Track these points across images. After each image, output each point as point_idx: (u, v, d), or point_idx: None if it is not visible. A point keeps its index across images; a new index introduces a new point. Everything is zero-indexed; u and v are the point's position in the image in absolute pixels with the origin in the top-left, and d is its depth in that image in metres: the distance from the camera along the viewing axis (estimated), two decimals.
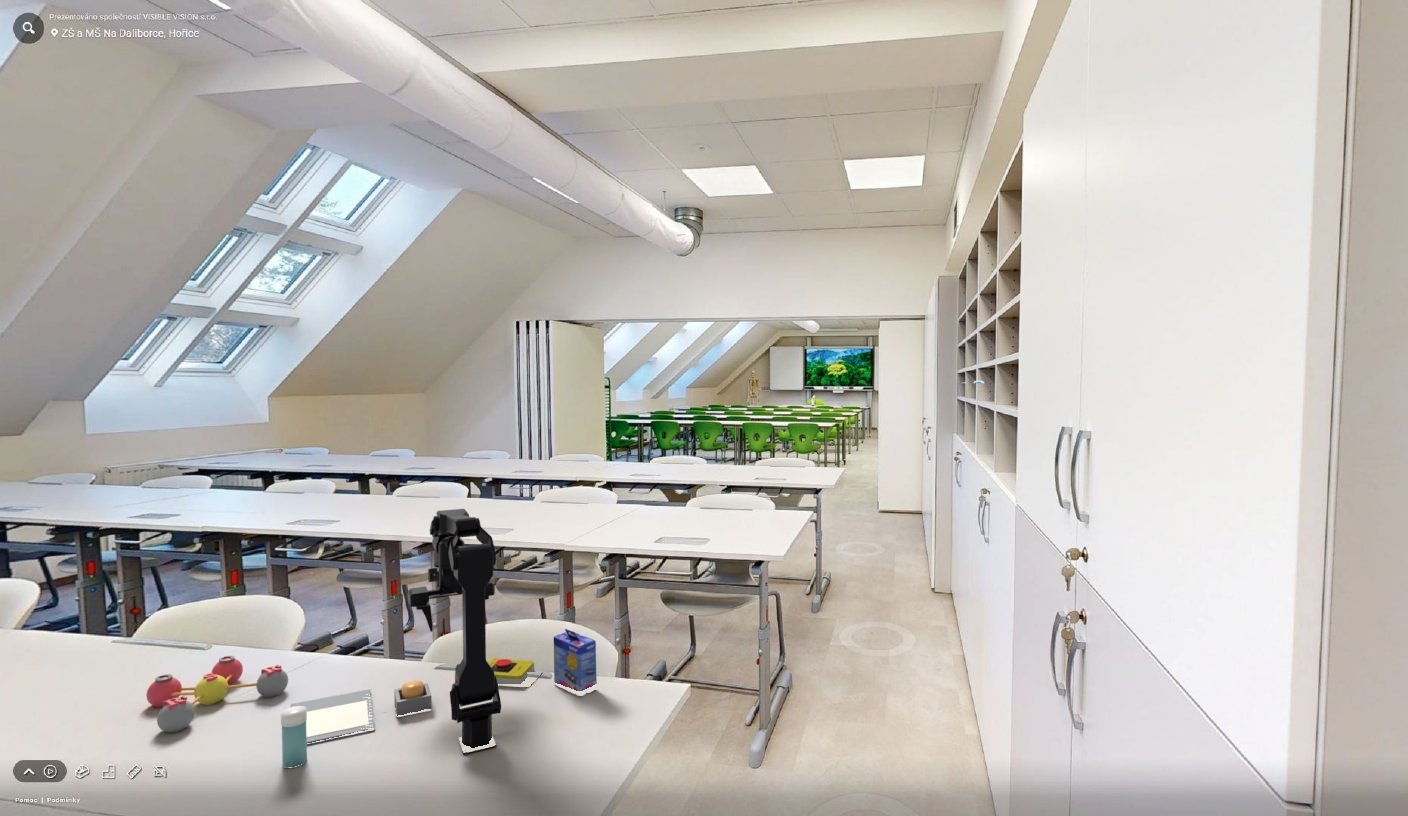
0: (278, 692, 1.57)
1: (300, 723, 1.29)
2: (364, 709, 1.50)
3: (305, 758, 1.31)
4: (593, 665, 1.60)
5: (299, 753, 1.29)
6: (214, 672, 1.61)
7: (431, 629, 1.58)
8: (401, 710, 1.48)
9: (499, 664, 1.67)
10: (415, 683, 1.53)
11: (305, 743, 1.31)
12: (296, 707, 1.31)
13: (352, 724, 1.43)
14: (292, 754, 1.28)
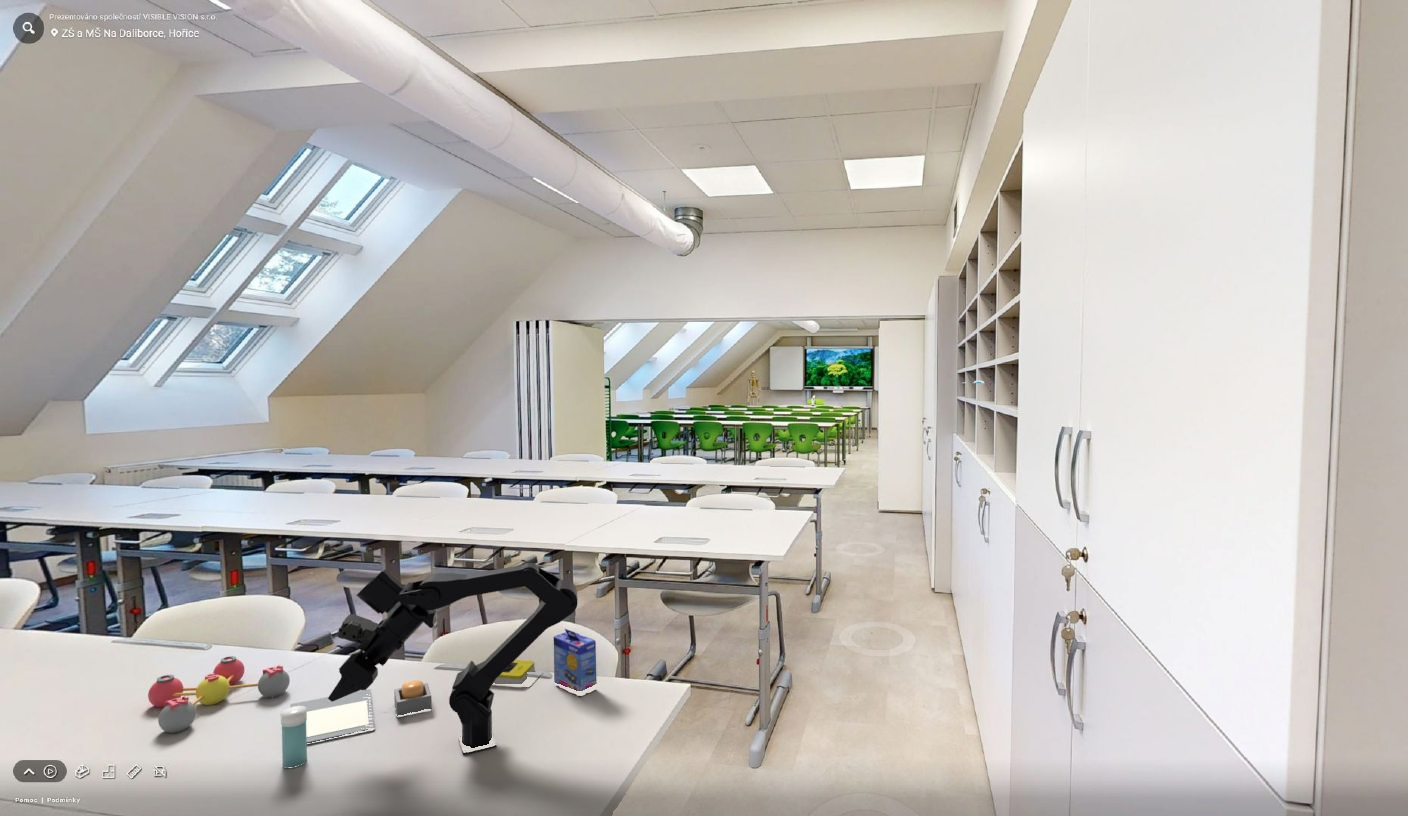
0: (280, 692, 1.57)
1: (300, 723, 1.29)
2: (364, 709, 1.50)
3: (305, 758, 1.31)
4: (593, 665, 1.60)
5: (299, 753, 1.29)
6: (215, 672, 1.61)
7: (335, 699, 1.28)
8: (401, 710, 1.48)
9: None
10: (415, 683, 1.53)
11: (305, 743, 1.31)
12: (296, 707, 1.31)
13: (352, 724, 1.43)
14: (292, 754, 1.28)
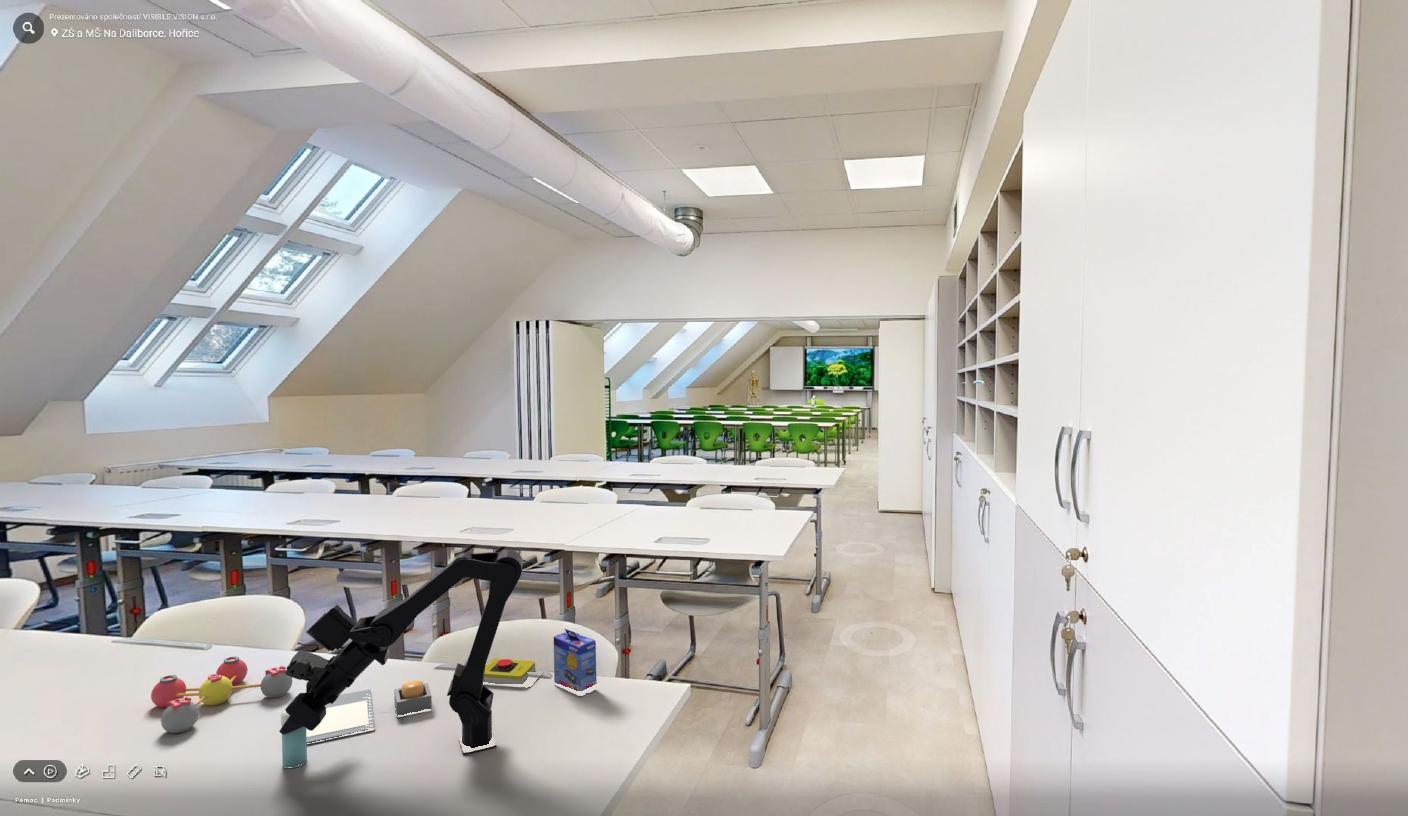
0: (282, 693, 1.56)
1: None
2: (364, 709, 1.50)
3: (305, 758, 1.31)
4: (593, 665, 1.60)
5: (299, 753, 1.29)
6: (218, 672, 1.61)
7: (287, 732, 1.28)
8: (401, 710, 1.48)
9: (500, 664, 1.67)
10: (415, 683, 1.53)
11: (305, 743, 1.31)
12: None
13: (352, 724, 1.43)
14: (292, 754, 1.28)
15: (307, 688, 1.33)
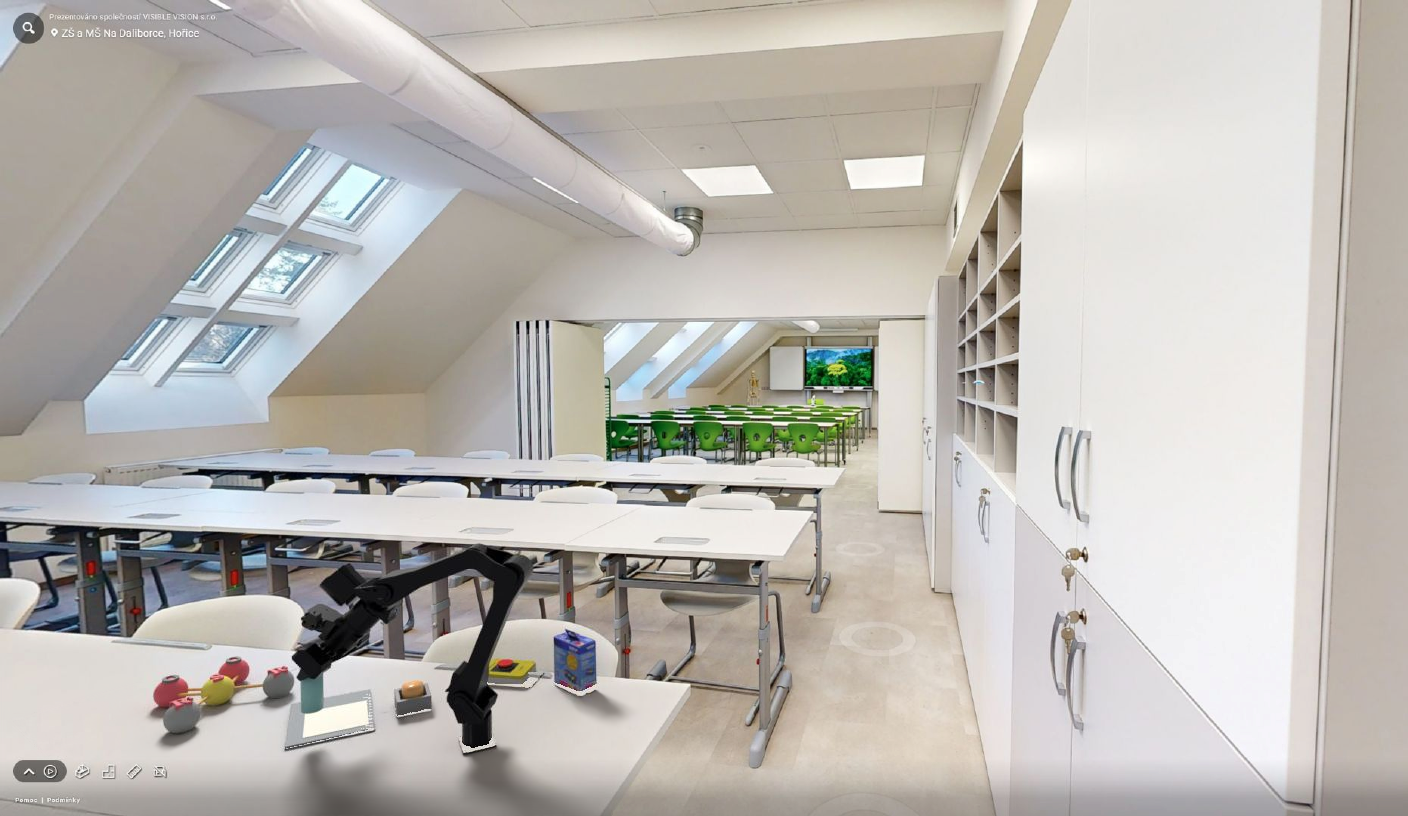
0: (284, 693, 1.56)
1: None
2: (364, 709, 1.50)
3: (321, 706, 1.38)
4: (593, 665, 1.60)
5: (314, 700, 1.37)
6: (220, 672, 1.61)
7: (302, 679, 1.36)
8: (401, 710, 1.48)
9: (501, 664, 1.66)
10: (415, 683, 1.53)
11: (321, 692, 1.38)
12: None
13: (352, 724, 1.43)
14: (307, 700, 1.36)
15: None
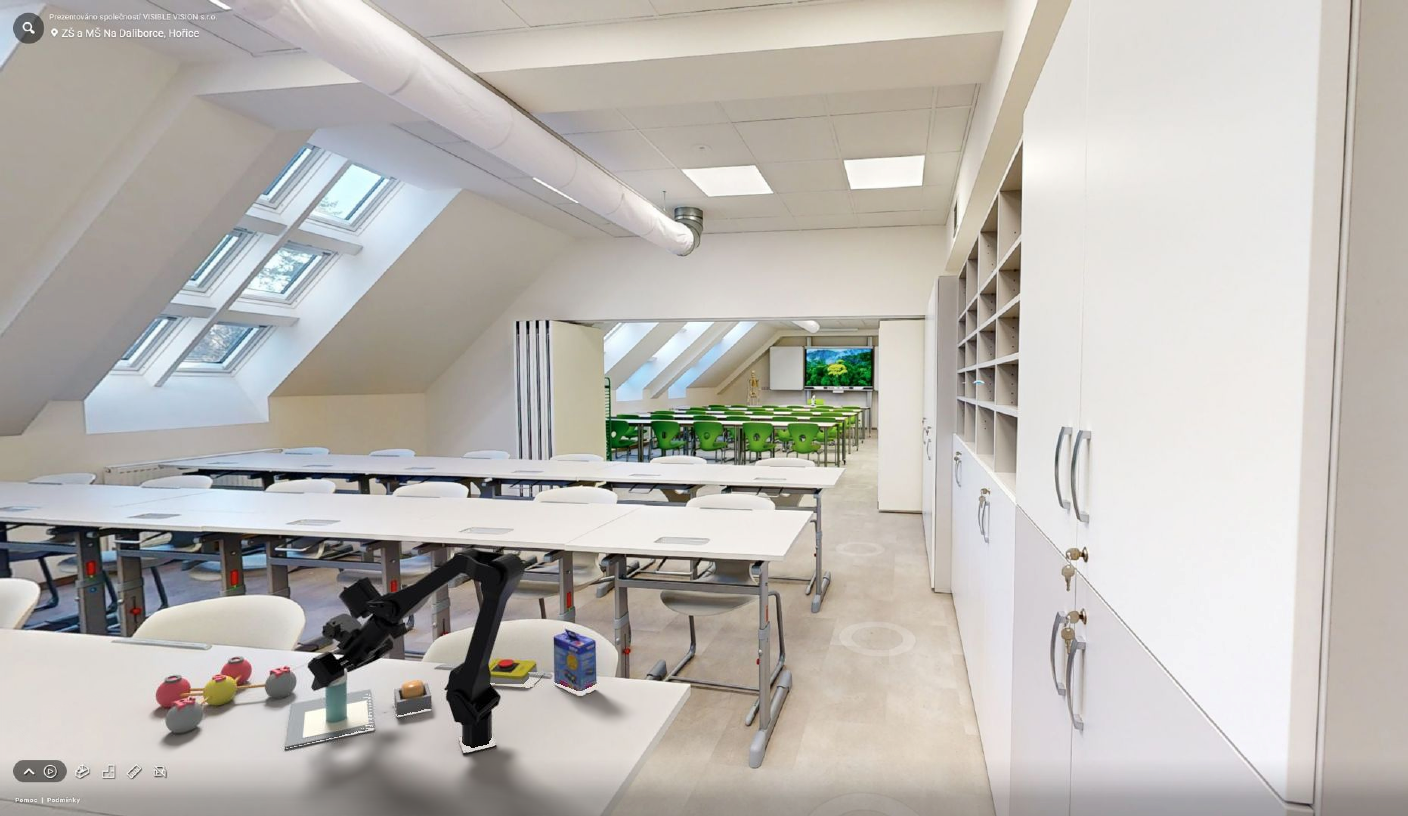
0: (286, 693, 1.56)
1: (337, 684, 1.44)
2: (364, 709, 1.50)
3: (342, 716, 1.45)
4: (593, 665, 1.60)
5: (335, 710, 1.44)
6: (223, 672, 1.61)
7: (316, 689, 1.41)
8: (401, 710, 1.48)
9: (501, 664, 1.66)
10: (415, 683, 1.53)
11: (343, 703, 1.45)
12: None
13: (352, 724, 1.43)
14: (330, 710, 1.44)
15: None
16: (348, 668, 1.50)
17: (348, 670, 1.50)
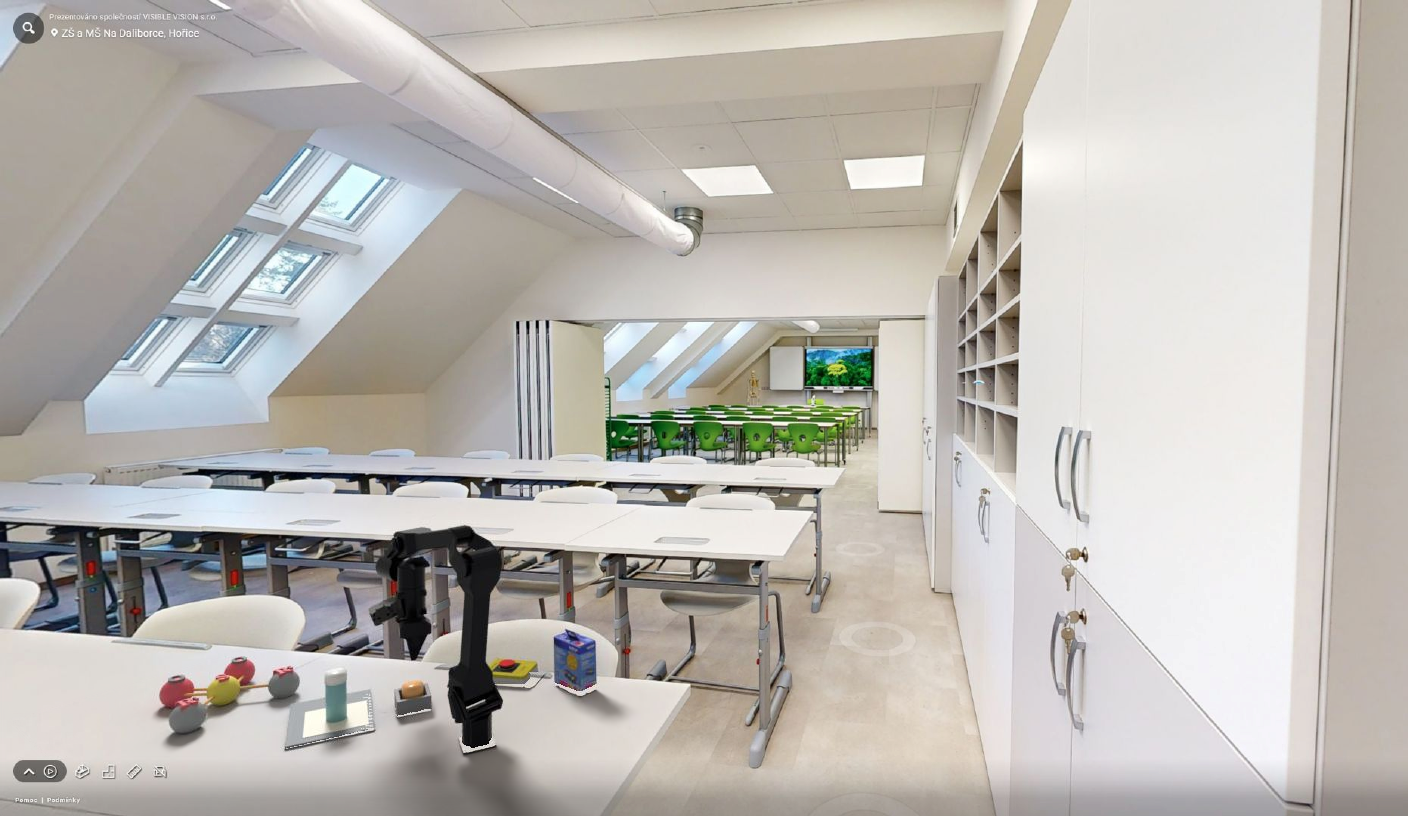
0: (290, 693, 1.56)
1: (336, 684, 1.44)
2: (364, 709, 1.50)
3: (342, 716, 1.45)
4: (593, 665, 1.60)
5: (335, 710, 1.44)
6: (226, 672, 1.61)
7: (417, 656, 1.49)
8: (401, 710, 1.48)
9: (503, 664, 1.66)
10: (415, 683, 1.53)
11: (343, 703, 1.45)
12: (341, 669, 1.47)
13: (352, 724, 1.43)
14: (329, 710, 1.44)
15: (400, 623, 1.54)
16: None
17: None
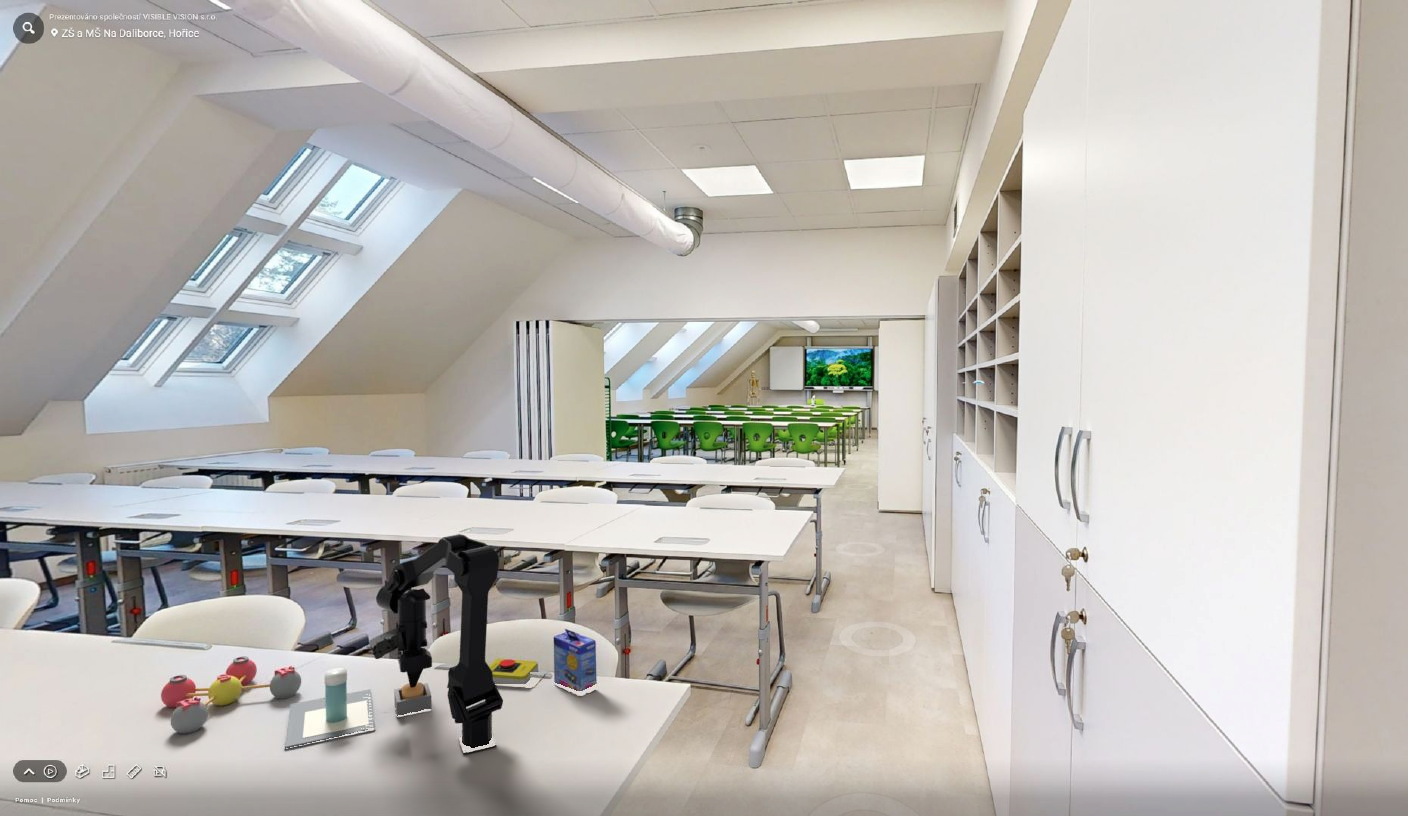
0: (291, 693, 1.56)
1: (337, 684, 1.44)
2: (364, 709, 1.50)
3: (342, 716, 1.45)
4: (593, 665, 1.60)
5: (335, 710, 1.44)
6: (228, 672, 1.61)
7: (416, 683, 1.52)
8: (401, 710, 1.48)
9: (503, 664, 1.66)
10: None
11: (343, 703, 1.45)
12: (341, 669, 1.47)
13: (352, 724, 1.43)
14: (329, 710, 1.44)
15: None
16: None
17: None
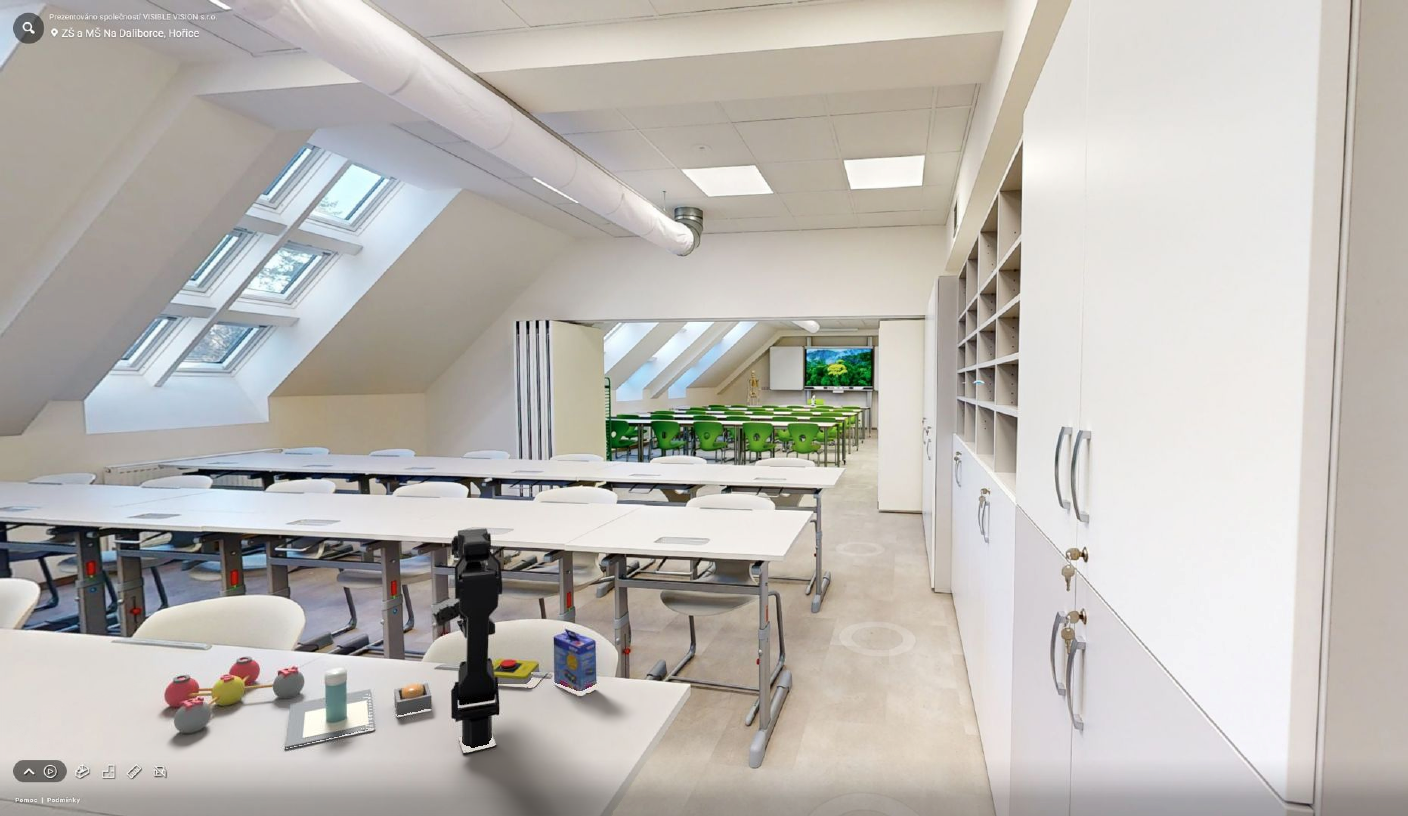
0: (294, 693, 1.56)
1: (337, 684, 1.44)
2: (364, 709, 1.50)
3: (342, 716, 1.45)
4: (593, 665, 1.60)
5: (335, 710, 1.44)
6: (231, 672, 1.61)
7: None
8: (401, 710, 1.48)
9: (504, 664, 1.66)
10: (415, 687, 1.53)
11: (343, 703, 1.45)
12: (341, 669, 1.47)
13: (352, 724, 1.43)
14: (330, 710, 1.44)
15: None
16: None
17: None
